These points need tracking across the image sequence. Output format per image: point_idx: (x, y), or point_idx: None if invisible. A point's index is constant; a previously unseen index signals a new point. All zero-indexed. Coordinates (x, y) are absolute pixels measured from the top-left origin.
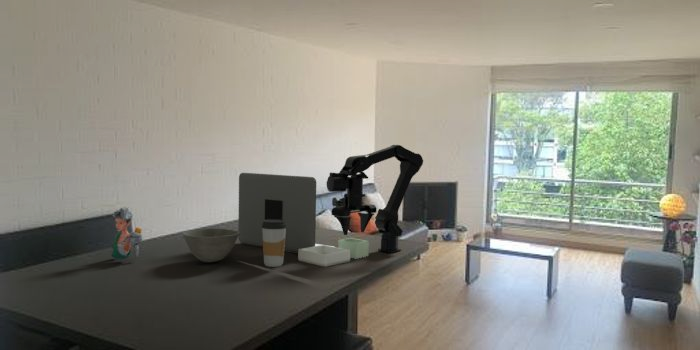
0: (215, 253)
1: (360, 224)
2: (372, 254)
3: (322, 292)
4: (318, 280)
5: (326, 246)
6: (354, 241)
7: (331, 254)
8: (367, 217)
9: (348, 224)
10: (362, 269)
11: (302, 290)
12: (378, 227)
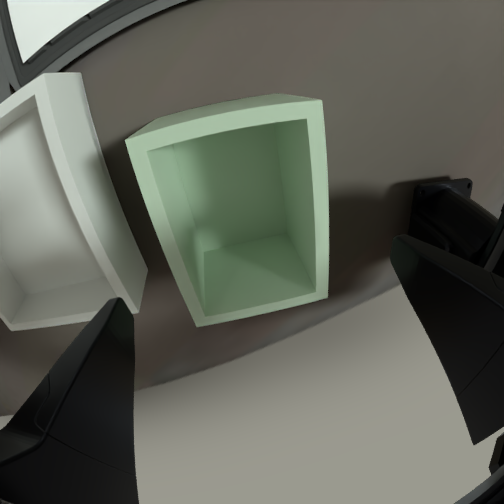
0: None
1: (451, 275)
2: (368, 185)
3: None
4: (19, 371)
5: (44, 124)
6: (302, 165)
7: (33, 326)
8: (470, 408)
9: (121, 445)
10: (141, 364)
11: (4, 386)
12: (501, 272)
